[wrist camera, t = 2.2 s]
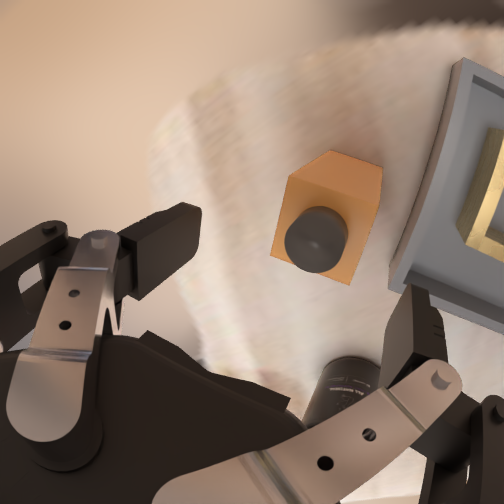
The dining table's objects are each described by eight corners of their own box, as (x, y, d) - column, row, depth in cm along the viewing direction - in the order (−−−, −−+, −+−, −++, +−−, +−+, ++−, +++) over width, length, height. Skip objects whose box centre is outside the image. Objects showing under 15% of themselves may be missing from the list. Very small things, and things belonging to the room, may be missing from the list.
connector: (383, 167, 20) (377, 217, 11) (366, 218, 22) (343, 303, 13) (330, 150, 21) (276, 183, 12) (316, 200, 23) (257, 269, 14)
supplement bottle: (365, 345, 27) (336, 456, 17) (396, 388, 27) (378, 492, 17) (308, 367, 31) (263, 463, 21) (342, 406, 31) (310, 498, 21)
